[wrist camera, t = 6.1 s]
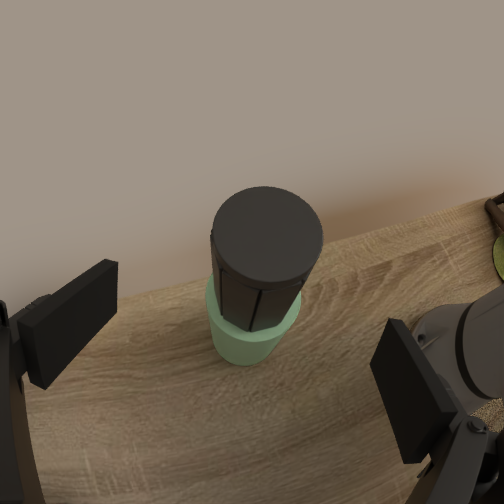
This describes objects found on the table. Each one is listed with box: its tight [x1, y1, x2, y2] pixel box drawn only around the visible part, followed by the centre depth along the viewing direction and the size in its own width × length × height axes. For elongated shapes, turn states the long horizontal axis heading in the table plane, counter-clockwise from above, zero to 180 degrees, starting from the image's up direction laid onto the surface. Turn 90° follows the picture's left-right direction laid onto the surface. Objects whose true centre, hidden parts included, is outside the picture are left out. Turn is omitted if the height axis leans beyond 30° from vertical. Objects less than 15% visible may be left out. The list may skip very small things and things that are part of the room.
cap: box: [210, 186, 323, 333], centre depth 20 cm, size 5×5×9 cm
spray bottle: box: [205, 273, 301, 366], centre depth 27 cm, size 7×7×17 cm
